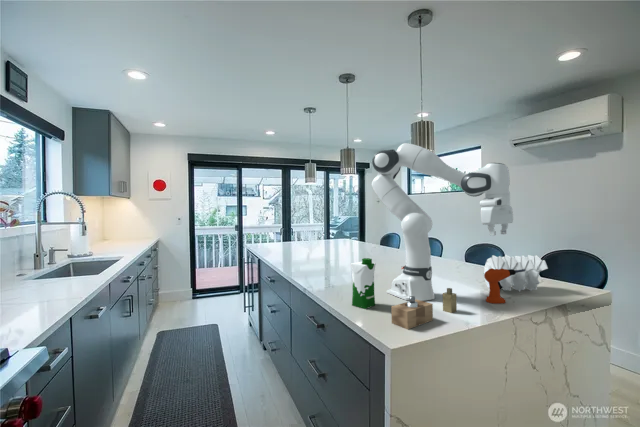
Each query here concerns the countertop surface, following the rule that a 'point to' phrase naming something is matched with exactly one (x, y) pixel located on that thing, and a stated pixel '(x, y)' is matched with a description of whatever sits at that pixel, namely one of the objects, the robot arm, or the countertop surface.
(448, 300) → the square bit
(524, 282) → the spiral staircase
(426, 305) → the socket block
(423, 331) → the countertop surface
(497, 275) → the toy drill
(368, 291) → the milk carton
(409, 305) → the cylinder
